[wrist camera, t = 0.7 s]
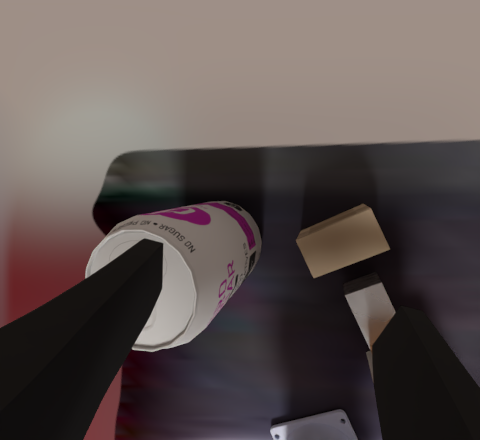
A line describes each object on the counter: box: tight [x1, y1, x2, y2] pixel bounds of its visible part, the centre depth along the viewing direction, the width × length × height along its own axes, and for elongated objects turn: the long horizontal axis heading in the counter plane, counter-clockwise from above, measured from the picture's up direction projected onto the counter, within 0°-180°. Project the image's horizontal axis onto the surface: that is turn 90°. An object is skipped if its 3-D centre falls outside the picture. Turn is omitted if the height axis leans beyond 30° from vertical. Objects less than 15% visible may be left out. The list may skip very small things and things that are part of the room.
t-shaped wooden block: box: [343, 272, 396, 353], centre depth 24 cm, size 15×3×8 cm, turn 26°
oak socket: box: [296, 204, 390, 278], centre depth 26 cm, size 3×6×5 cm, turn 116°
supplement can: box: [85, 201, 262, 352], centre depth 25 cm, size 8×8×15 cm
